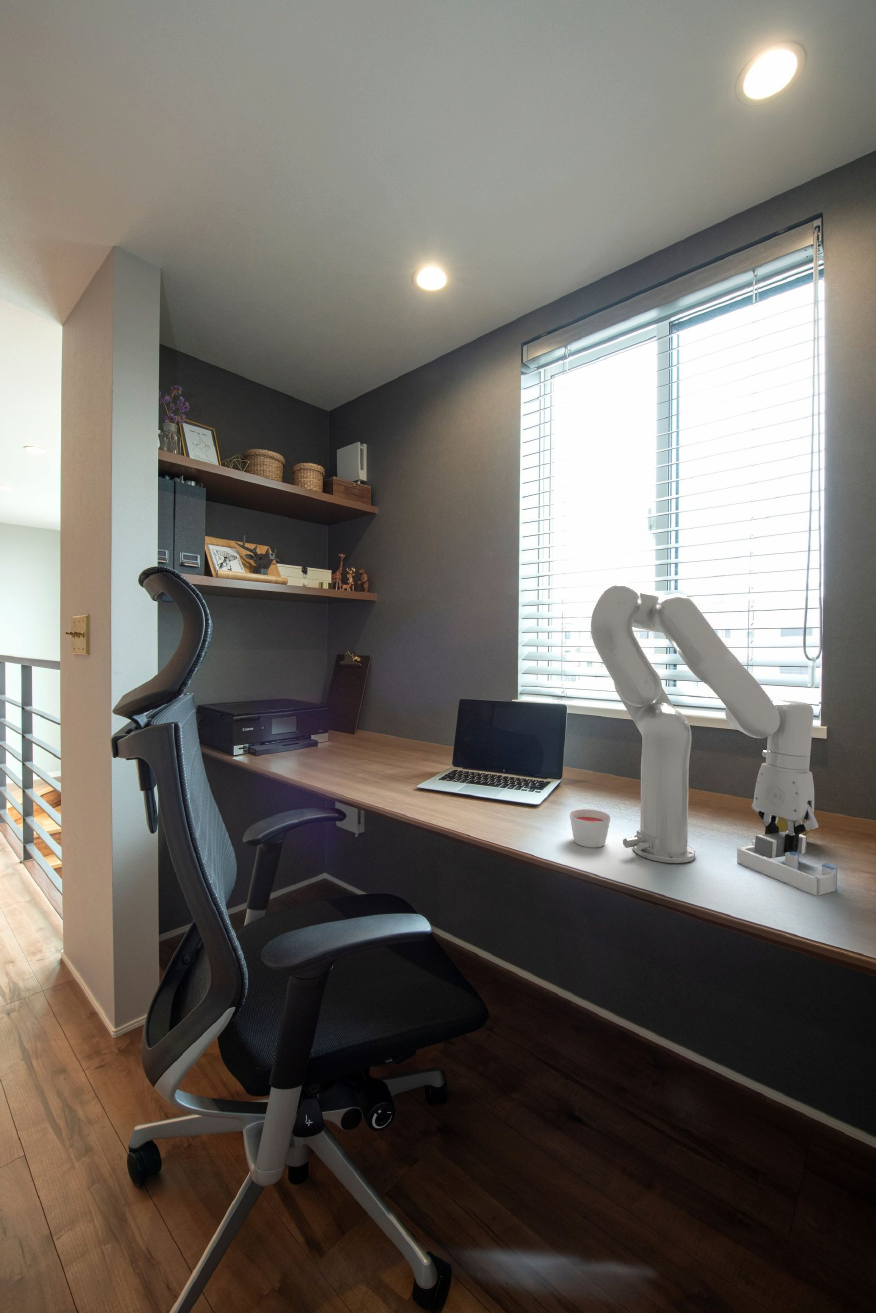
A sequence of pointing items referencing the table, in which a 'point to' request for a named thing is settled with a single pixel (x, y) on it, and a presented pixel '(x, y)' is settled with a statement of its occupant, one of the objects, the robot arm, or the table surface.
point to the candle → (589, 827)
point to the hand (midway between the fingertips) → (780, 848)
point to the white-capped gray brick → (776, 844)
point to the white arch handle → (789, 871)
